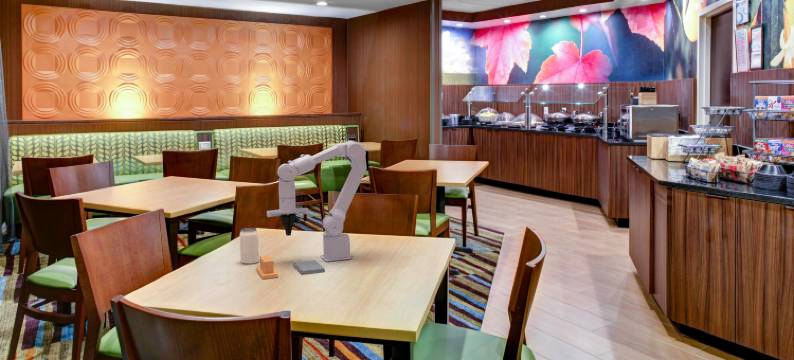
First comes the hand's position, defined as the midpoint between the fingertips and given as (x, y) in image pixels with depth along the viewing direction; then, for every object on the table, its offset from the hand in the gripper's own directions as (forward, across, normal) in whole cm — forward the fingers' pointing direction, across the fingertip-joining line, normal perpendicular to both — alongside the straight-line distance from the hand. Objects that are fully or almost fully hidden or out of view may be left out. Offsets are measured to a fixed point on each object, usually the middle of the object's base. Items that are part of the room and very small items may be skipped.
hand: (288, 235), depth 220 cm
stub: (+10, +10, +12) cm, 19 cm away
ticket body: (+10, -4, +12) cm, 16 cm away
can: (+10, +13, -6) cm, 18 cm away
